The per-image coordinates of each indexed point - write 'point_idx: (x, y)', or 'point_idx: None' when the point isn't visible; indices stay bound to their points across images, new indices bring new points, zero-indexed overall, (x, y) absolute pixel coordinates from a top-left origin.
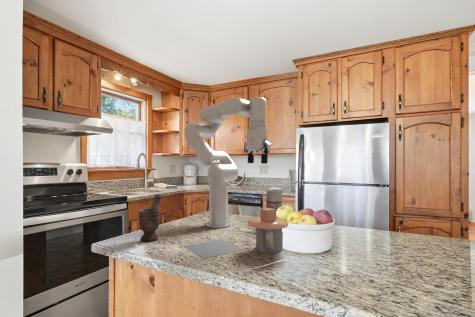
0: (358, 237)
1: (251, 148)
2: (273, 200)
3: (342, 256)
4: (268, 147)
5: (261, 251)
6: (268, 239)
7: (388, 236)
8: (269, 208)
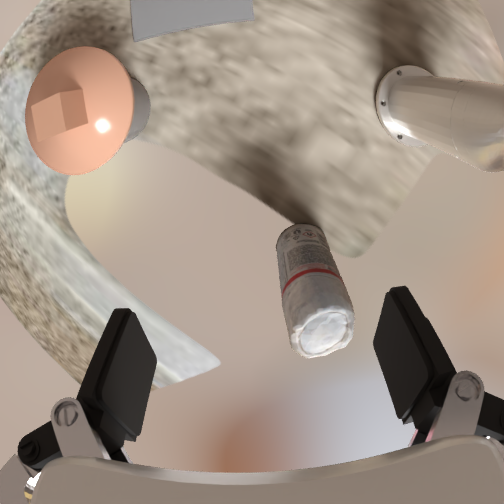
0: None
1: (309, 501)
2: (293, 285)
3: (51, 230)
4: (10, 461)
5: None
6: None
7: None
8: (55, 128)
